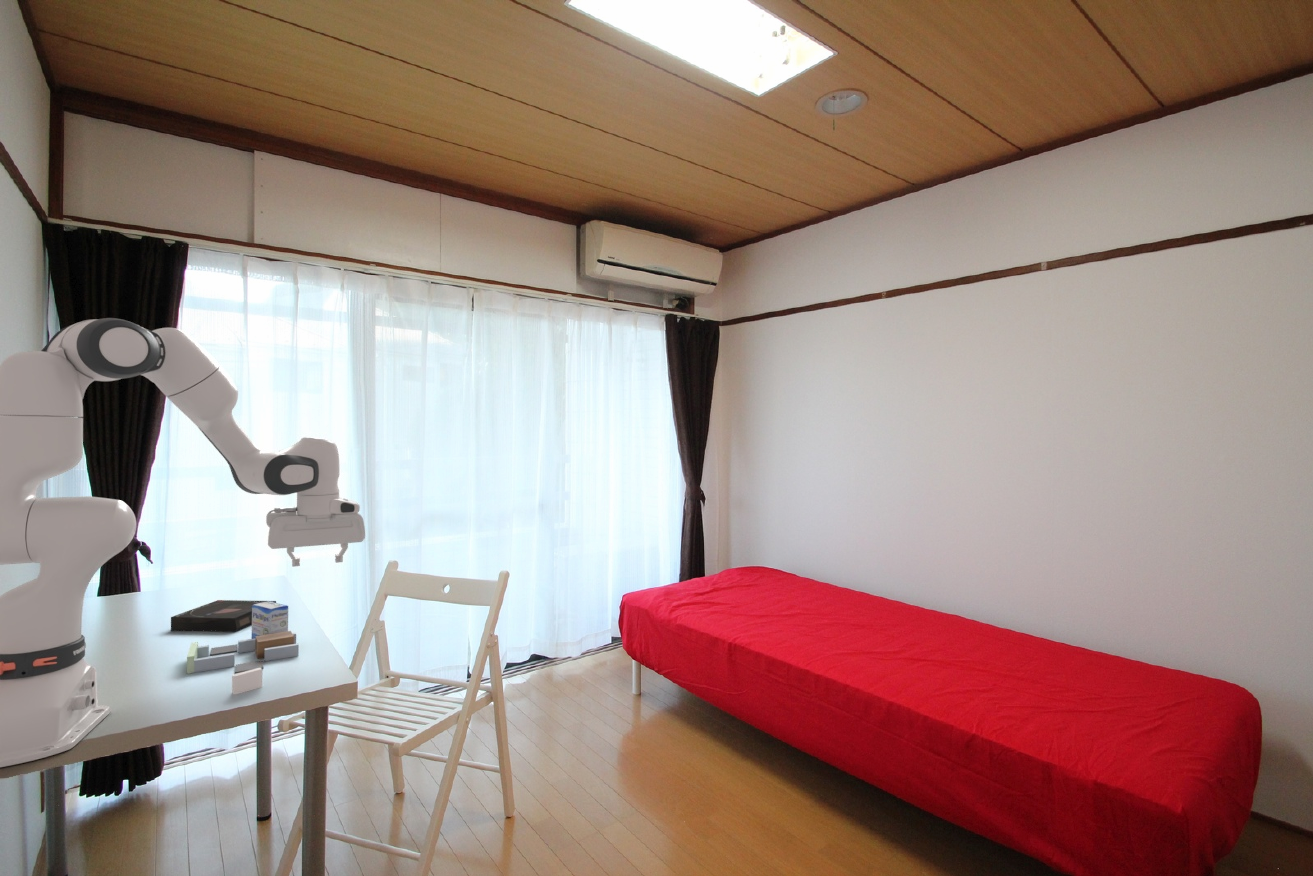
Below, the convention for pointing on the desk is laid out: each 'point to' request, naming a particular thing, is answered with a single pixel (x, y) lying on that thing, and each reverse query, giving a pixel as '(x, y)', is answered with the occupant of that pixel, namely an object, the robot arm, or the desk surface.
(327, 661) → the desk surface
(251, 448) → the robot arm
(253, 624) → the medicine box
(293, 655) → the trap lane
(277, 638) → the walnut block
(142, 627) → the desk surface
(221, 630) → the portable cd player
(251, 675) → the eraser
